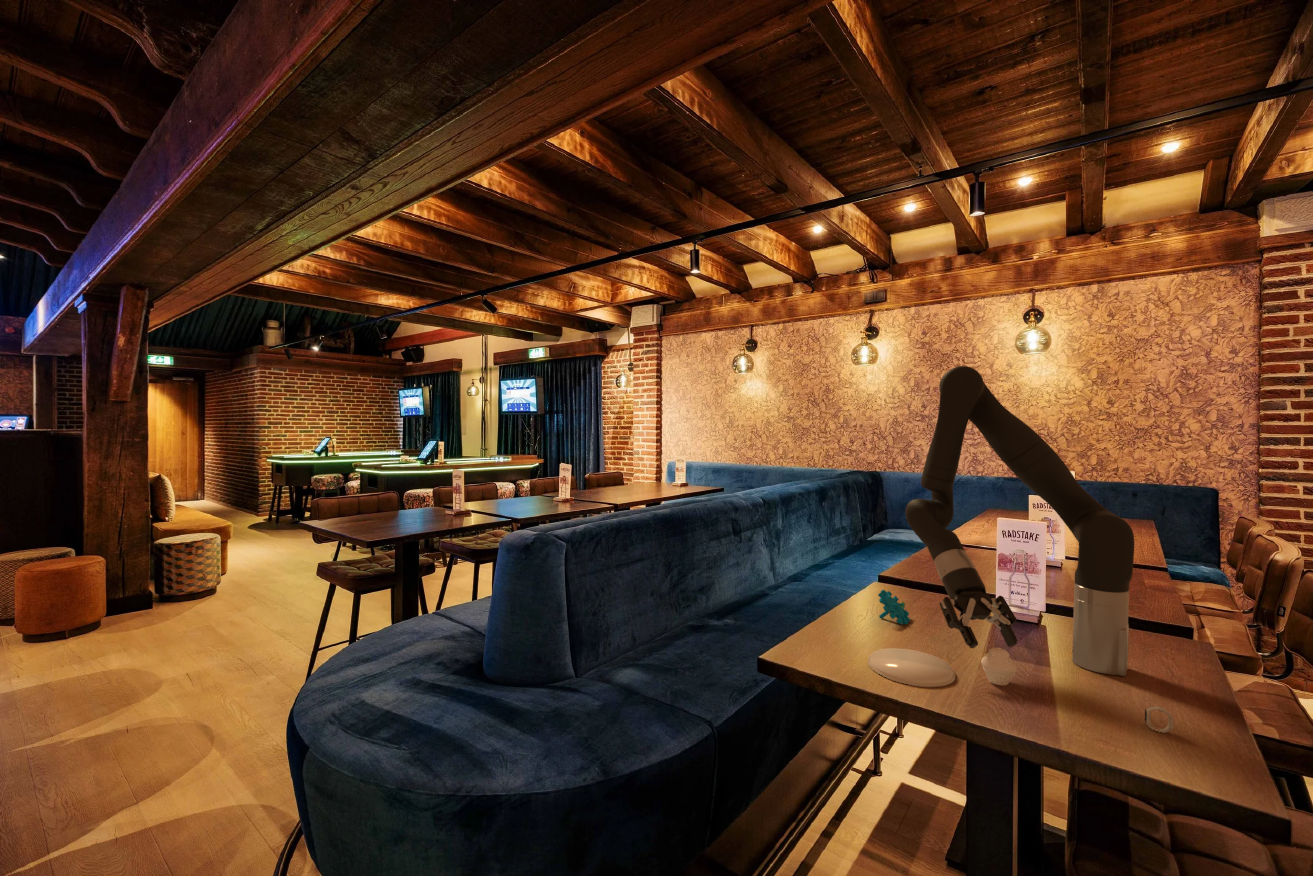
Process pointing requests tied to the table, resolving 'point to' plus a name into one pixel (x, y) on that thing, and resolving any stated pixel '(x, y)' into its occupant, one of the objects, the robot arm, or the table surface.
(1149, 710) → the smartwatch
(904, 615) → the teal knobbly lump
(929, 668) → the plate
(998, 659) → the muffin
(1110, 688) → the table surface
